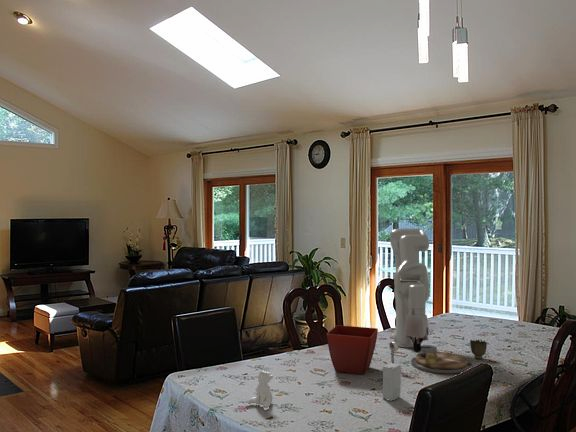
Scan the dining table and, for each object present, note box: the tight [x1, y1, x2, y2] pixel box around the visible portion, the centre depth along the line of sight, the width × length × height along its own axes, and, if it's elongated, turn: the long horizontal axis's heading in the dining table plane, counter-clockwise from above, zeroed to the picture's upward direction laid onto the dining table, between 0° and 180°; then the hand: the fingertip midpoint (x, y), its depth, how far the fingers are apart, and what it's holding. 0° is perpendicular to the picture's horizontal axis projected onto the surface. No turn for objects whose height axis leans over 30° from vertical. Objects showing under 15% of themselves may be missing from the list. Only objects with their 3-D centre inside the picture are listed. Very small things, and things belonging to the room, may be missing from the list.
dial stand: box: [388, 341, 400, 364], centre depth 228 cm, size 6×5×12 cm
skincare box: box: [382, 362, 402, 401], centre depth 191 cm, size 6×4×12 cm
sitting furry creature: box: [245, 370, 274, 409], centre depth 185 cm, size 10×9×12 cm
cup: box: [469, 339, 488, 360], centre depth 243 cm, size 8×7×8 cm
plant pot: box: [326, 324, 379, 375], centre depth 226 cm, size 19×19×17 cm
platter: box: [415, 351, 468, 369], centre depth 232 cm, size 22×22×6 cm
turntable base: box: [410, 356, 473, 375], centre depth 232 cm, size 26×26×1 cm
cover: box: [420, 344, 438, 358], centre depth 236 cm, size 7×7×4 cm
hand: (417, 351), depth 240 cm, fingers closed
